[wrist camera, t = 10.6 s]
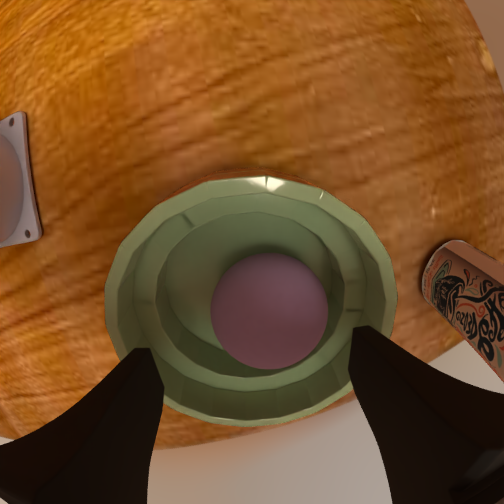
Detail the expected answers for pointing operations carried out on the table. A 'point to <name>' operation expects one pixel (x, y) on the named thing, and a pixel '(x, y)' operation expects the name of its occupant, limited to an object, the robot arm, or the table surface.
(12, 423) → the table surface
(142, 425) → the robot arm
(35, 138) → the table surface
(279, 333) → the ball
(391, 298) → the bowl
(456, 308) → the beer can
